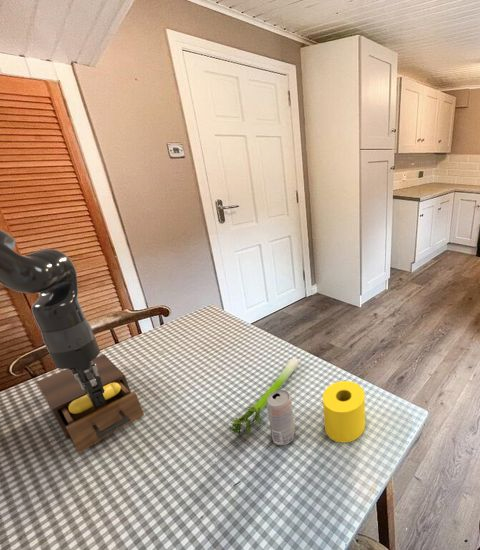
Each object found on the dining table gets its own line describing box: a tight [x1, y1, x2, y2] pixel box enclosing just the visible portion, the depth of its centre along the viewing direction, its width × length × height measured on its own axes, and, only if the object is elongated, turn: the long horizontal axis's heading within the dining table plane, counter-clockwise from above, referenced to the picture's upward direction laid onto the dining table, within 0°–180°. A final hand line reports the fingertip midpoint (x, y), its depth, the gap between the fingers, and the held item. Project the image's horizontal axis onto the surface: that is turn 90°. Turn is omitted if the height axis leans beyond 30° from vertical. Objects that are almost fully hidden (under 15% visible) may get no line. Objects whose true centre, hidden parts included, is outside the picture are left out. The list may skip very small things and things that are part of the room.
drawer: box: [60, 381, 145, 453], centre depth 74 cm, size 19×13×7 cm
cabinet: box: [36, 354, 132, 439], centre depth 80 cm, size 16×14×9 cm
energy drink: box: [266, 389, 296, 446], centre depth 70 cm, size 5×5×12 cm
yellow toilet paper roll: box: [322, 380, 366, 443], centre depth 74 cm, size 10×10×9 cm
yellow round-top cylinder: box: [69, 383, 121, 414], centre depth 71 cm, size 10×3×3 cm, turn 144°
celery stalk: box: [229, 358, 301, 437], centre depth 83 cm, size 6×7×30 cm
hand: (97, 401), depth 72 cm, fingers closed on yellow round-top cylinder, 3 cm apart
